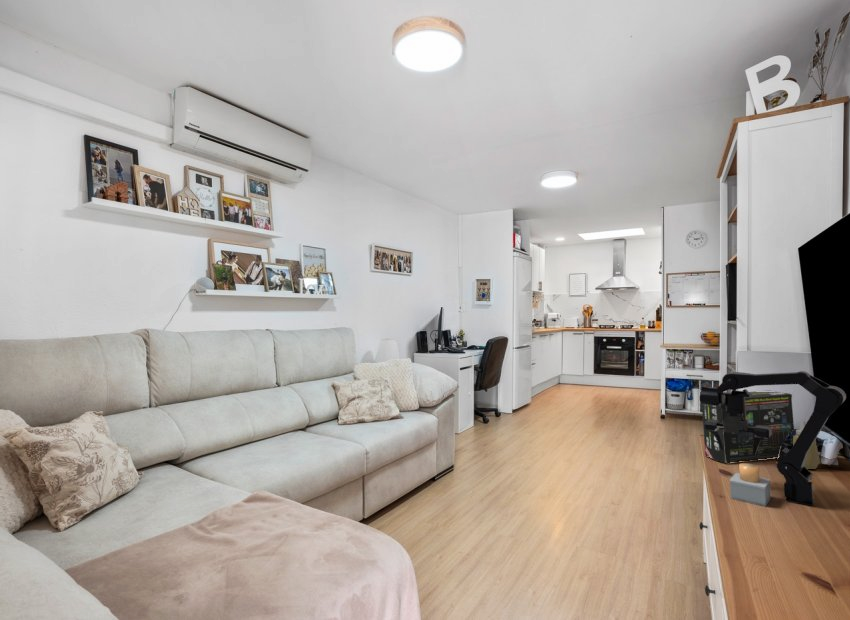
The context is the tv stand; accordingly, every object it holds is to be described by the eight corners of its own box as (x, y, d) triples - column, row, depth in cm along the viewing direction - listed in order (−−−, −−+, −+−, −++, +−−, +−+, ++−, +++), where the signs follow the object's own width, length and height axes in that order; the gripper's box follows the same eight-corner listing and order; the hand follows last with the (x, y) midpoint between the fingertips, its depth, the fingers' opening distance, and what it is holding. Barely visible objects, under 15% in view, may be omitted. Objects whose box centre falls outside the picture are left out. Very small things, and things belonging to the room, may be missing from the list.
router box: (772, 450, 187) (769, 389, 188) (798, 457, 176) (794, 393, 177) (702, 456, 182) (698, 394, 183) (724, 465, 171) (720, 398, 172)
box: (770, 498, 139) (769, 481, 139) (765, 506, 132) (764, 489, 133) (737, 490, 145) (736, 474, 145) (731, 498, 139) (730, 481, 139)
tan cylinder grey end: (761, 479, 139) (760, 465, 139) (757, 483, 135) (757, 469, 135) (741, 475, 143) (741, 461, 143) (738, 479, 139) (737, 465, 139)
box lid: (770, 481, 139) (769, 479, 139) (765, 489, 132) (764, 487, 132) (735, 474, 145) (735, 472, 145) (729, 481, 139) (729, 480, 139)
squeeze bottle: (787, 466, 167) (785, 420, 167) (799, 463, 170) (796, 418, 170) (813, 472, 159) (810, 424, 160) (824, 469, 162) (821, 422, 163)
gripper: (698, 408, 150) (701, 452, 150) (764, 415, 137) (767, 464, 136) (707, 403, 158) (709, 445, 157) (770, 410, 144) (773, 456, 144)
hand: (738, 452), depth 149 cm, fingers open, 9 cm apart
